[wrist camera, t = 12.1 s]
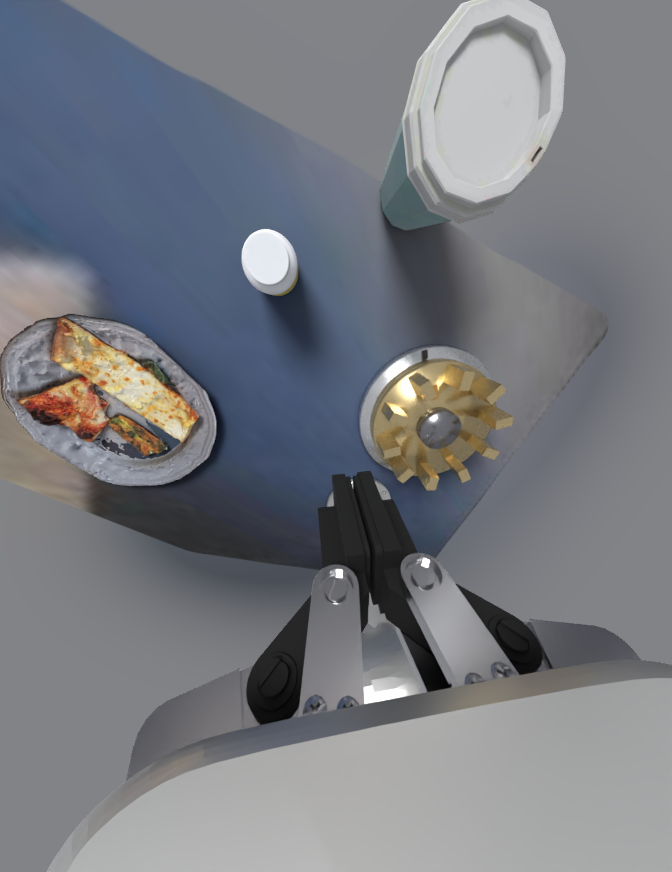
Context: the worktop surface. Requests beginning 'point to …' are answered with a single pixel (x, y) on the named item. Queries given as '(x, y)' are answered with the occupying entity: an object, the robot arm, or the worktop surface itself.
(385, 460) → the bladed impeller wheel
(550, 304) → the worktop surface
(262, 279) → the supplement bottle
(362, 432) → the light grey round disc
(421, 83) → the disposable coffee cup
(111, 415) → the food plate
